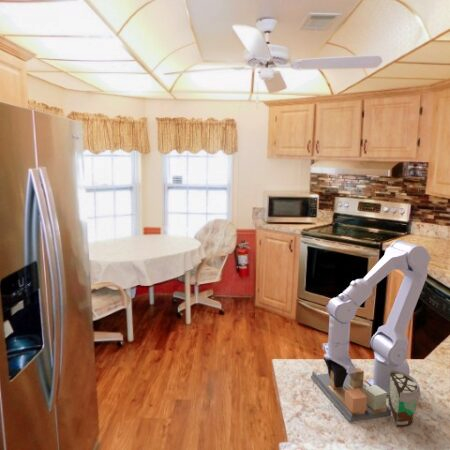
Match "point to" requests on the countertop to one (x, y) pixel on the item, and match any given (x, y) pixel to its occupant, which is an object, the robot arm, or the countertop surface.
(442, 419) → the countertop surface
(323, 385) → the lane board
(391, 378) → the food container
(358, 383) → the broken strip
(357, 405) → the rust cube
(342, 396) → the oak strip
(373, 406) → the sage block
